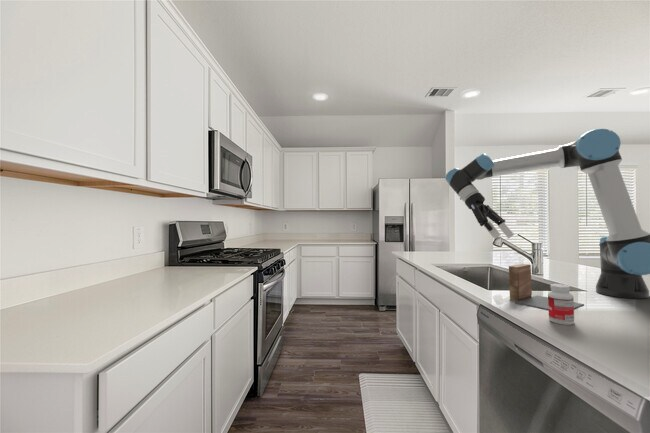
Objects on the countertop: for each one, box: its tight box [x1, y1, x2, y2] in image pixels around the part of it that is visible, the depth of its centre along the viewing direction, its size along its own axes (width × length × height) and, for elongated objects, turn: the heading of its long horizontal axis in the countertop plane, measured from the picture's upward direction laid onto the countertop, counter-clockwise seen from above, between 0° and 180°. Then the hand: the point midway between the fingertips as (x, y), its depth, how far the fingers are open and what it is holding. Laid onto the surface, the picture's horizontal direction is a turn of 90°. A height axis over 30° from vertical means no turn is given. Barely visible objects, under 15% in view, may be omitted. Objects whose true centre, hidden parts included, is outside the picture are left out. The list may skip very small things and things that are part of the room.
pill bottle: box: [547, 283, 575, 326], centre depth 91 cm, size 6×6×11 cm
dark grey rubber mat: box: [514, 295, 585, 311], centre depth 109 cm, size 15×16×1 cm
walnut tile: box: [508, 263, 533, 302], centre depth 117 cm, size 3×10×13 cm, turn 120°
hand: (504, 236), depth 120 cm, fingers open, 13 cm apart
